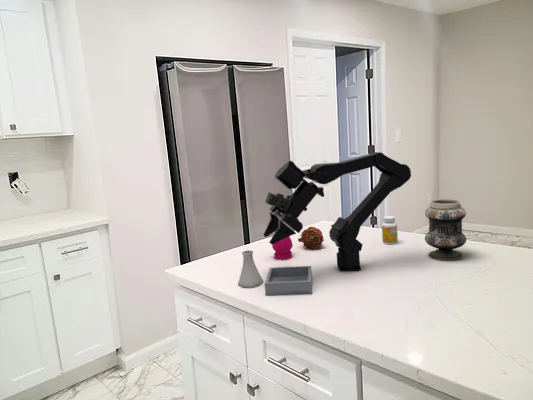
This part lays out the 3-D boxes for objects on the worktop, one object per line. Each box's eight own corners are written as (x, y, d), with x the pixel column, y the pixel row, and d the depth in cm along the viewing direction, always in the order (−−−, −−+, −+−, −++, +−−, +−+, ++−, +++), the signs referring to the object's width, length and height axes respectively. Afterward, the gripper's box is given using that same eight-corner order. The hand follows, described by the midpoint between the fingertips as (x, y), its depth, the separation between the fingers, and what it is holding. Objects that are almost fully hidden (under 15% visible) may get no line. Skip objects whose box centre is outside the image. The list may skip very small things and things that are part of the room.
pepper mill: (292, 260, 137) (287, 203, 133) (271, 260, 138) (266, 204, 135) (294, 253, 144) (290, 199, 140) (275, 254, 145) (270, 200, 142)
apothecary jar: (475, 256, 124) (475, 200, 121) (445, 264, 119) (444, 206, 116) (445, 248, 135) (444, 196, 132) (417, 254, 130) (415, 201, 128)
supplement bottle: (379, 242, 148) (378, 217, 147) (392, 239, 150) (391, 214, 148) (388, 245, 143) (387, 219, 142) (400, 243, 145) (399, 217, 143)
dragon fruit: (318, 255, 144) (305, 252, 155) (333, 239, 146) (319, 236, 157) (303, 239, 142) (291, 237, 154) (318, 222, 144) (305, 221, 156)
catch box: (312, 276, 119) (311, 265, 119) (311, 293, 107) (310, 281, 106) (270, 278, 121) (269, 267, 120) (265, 295, 109) (264, 283, 108)
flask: (249, 277, 123) (246, 247, 122) (267, 281, 119) (264, 249, 117) (233, 285, 118) (230, 253, 116) (251, 290, 113) (248, 256, 112)
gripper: (273, 179, 125) (242, 217, 125) (288, 185, 107) (251, 230, 106) (299, 200, 127) (269, 238, 127) (317, 210, 109) (282, 254, 109)
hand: (267, 239), depth 117 cm, fingers open, 9 cm apart
